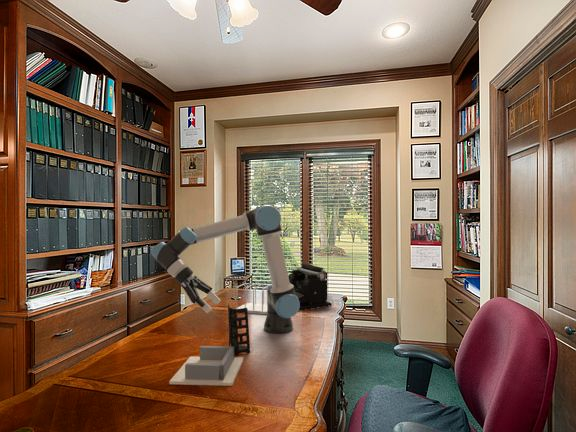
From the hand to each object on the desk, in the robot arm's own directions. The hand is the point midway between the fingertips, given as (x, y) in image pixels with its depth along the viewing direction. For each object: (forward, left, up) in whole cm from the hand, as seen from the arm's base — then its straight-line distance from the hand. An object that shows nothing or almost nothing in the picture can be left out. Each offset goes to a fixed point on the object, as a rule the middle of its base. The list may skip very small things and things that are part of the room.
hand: (214, 306), depth 137 cm
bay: (-3, +18, -19) cm, 26 cm away
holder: (-10, 0, -19) cm, 22 cm away
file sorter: (-10, -64, -20) cm, 68 cm away
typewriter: (-37, -82, -20) cm, 92 cm away
